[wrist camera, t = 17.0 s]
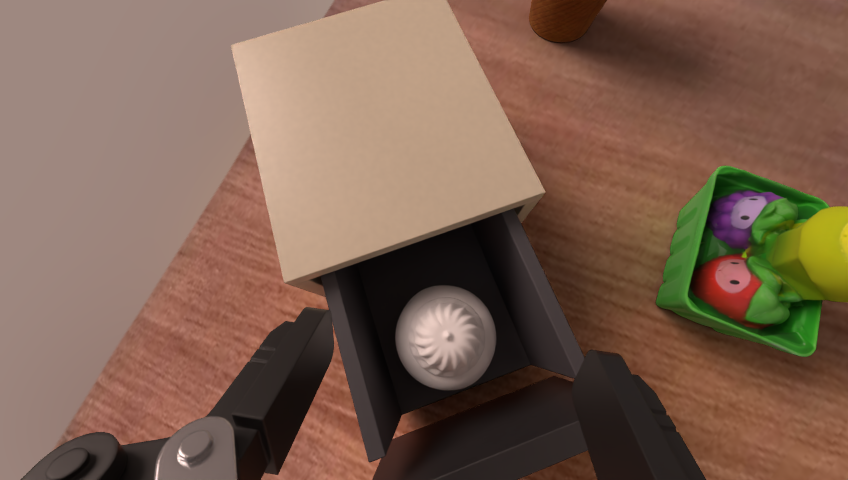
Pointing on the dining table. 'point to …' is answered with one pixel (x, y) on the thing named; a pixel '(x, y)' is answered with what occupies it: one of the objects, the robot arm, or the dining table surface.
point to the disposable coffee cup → (563, 18)
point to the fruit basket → (757, 261)
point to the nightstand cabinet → (376, 135)
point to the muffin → (445, 337)
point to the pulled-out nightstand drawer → (497, 419)
